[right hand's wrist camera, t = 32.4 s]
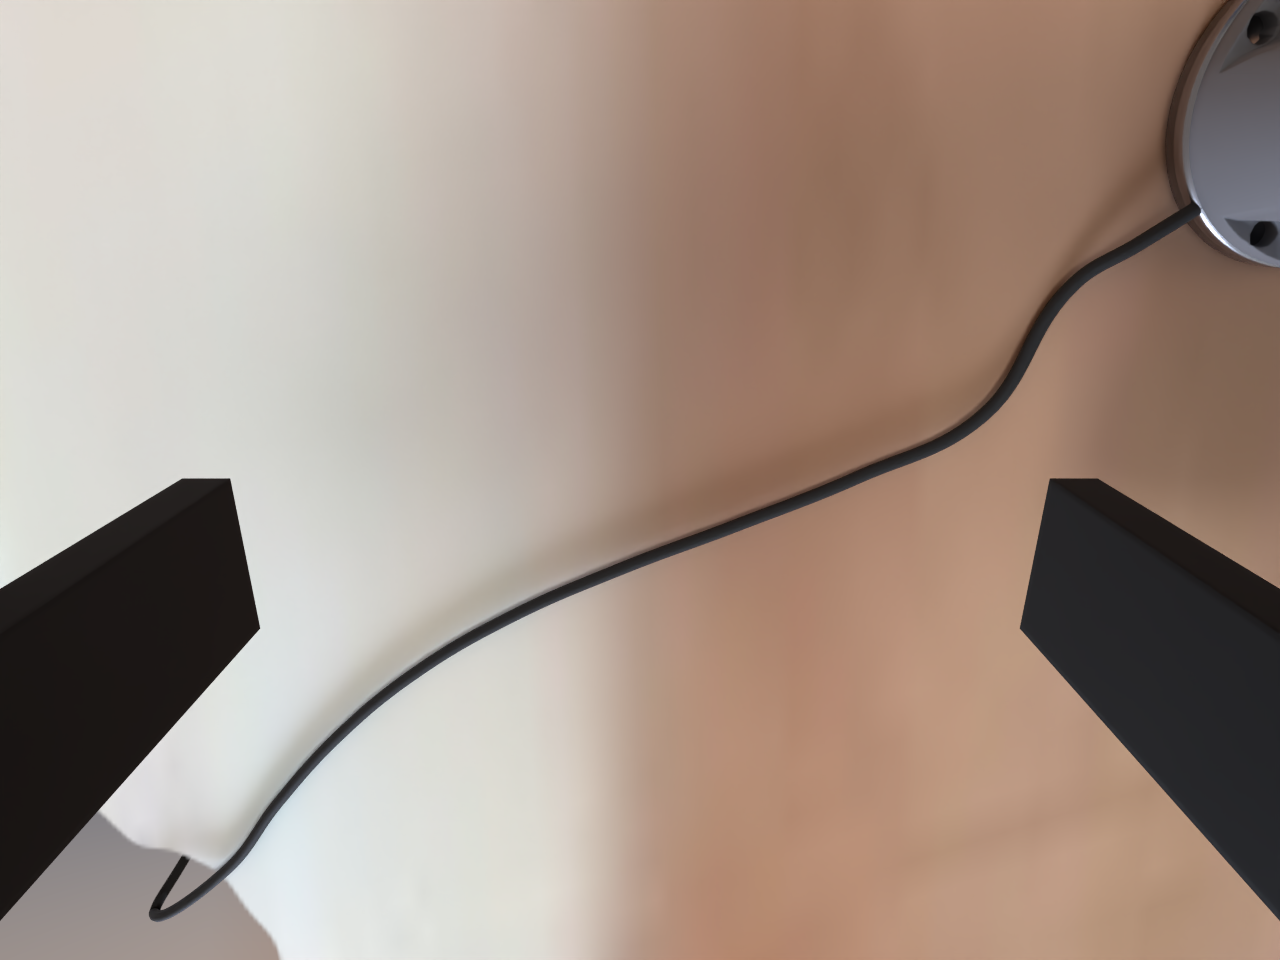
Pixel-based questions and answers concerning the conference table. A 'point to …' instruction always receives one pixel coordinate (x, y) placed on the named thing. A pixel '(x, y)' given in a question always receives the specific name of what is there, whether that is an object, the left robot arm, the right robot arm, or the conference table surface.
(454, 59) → the conference table surface
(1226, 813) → the right robot arm
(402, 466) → the conference table surface
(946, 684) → the conference table surface
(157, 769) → the conference table surface
